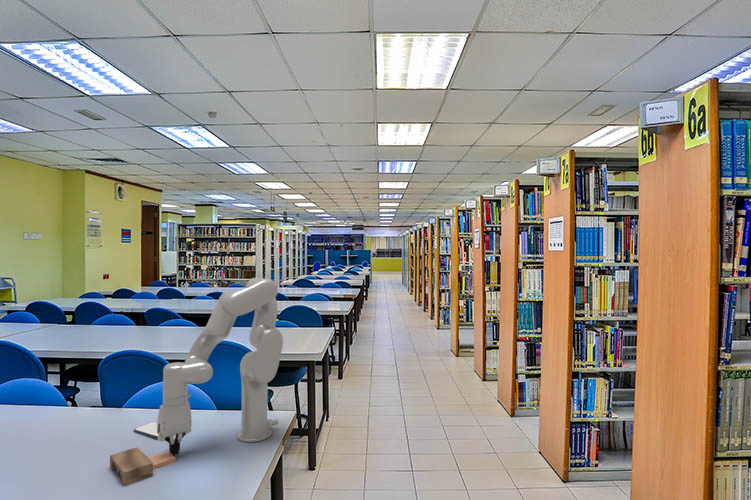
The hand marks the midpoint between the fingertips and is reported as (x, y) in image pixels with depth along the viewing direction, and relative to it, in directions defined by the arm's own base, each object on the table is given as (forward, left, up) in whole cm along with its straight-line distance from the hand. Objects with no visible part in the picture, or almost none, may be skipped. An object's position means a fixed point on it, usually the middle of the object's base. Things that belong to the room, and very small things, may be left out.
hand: (174, 453), depth 142 cm
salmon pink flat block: (+7, 0, -2) cm, 7 cm away
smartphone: (-3, -26, -2) cm, 26 cm away
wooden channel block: (+13, 0, -1) cm, 13 cm away
